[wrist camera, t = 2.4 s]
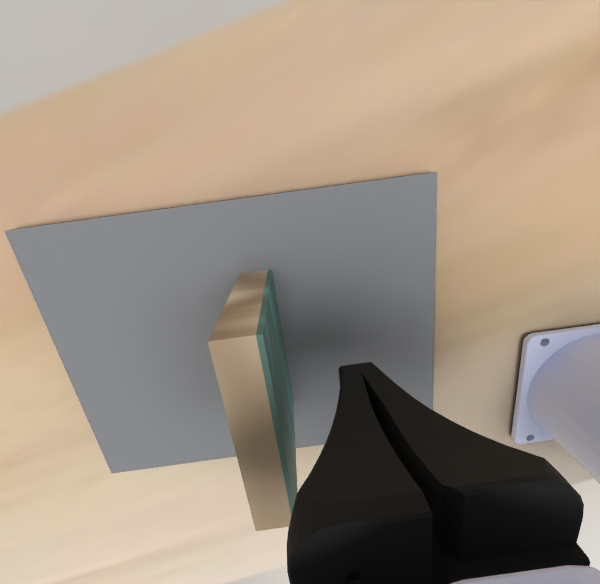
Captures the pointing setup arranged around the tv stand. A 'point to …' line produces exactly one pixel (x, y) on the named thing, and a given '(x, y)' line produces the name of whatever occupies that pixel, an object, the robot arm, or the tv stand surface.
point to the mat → (213, 296)
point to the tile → (258, 396)
